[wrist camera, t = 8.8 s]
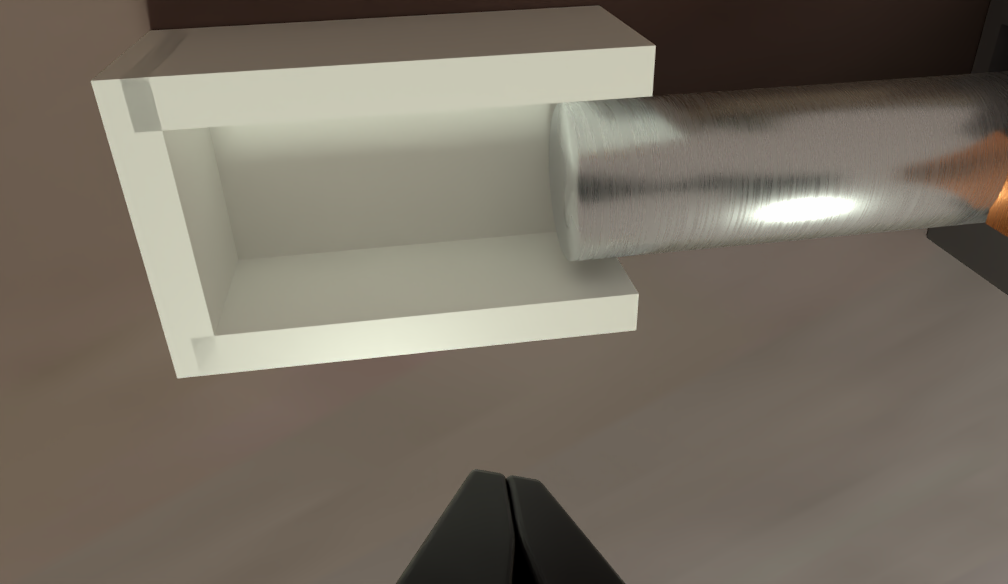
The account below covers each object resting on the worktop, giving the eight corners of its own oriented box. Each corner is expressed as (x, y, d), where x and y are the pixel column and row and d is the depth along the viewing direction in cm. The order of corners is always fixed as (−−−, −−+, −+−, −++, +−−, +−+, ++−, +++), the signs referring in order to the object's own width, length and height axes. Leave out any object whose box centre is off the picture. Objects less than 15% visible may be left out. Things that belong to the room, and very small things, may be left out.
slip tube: (548, 221, 20) (685, 511, 12) (549, 83, 19) (710, 302, 10) (1102, 173, 22) (1588, 392, 13) (1151, 43, 20) (1749, 196, 12)
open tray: (212, 282, 21) (177, 378, 17) (149, 30, 18) (90, 80, 14) (591, 247, 22) (636, 329, 19) (599, 4, 19) (655, 45, 15)
